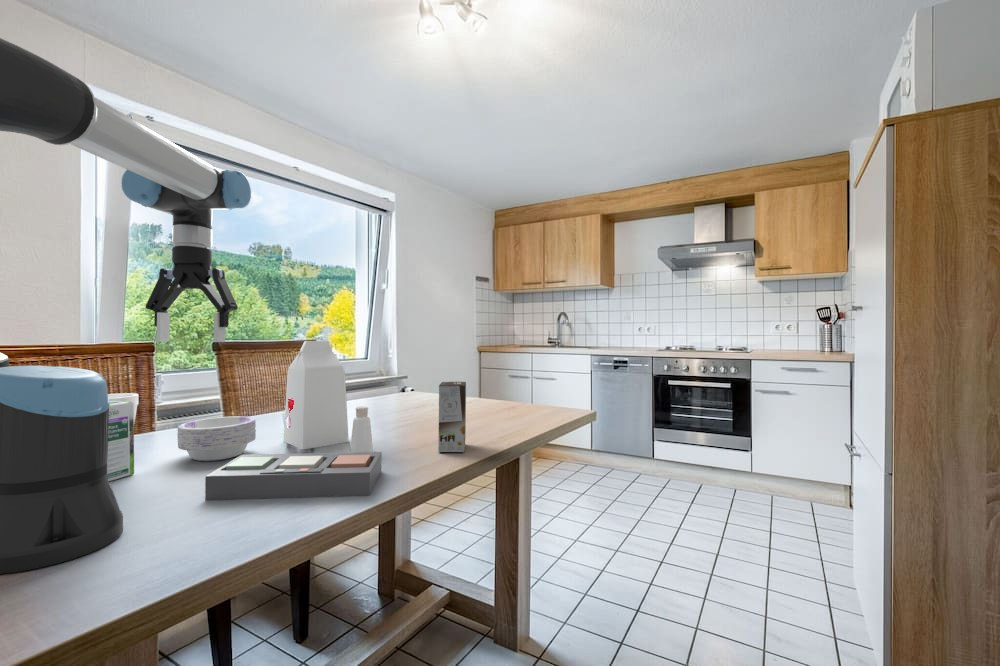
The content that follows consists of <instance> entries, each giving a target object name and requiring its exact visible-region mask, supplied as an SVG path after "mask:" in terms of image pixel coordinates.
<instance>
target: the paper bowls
mask: <svg viewBox="0 0 1000 666" xmlns="http://www.w3.org/2000/svg"><path fill="white" fill-rule="evenodd" d="M256 426H257V425H256V419H255V418H254V417H251V416H235V415H234V416H219V417H217V416H216V417H210V418H202V419H195V420H192V421H187V422H184V423H182V424H179V425H178V426H177V434H176V435H177V448H178V449H179V450H183V451H186V452H187V454H188V455H189V457H190V458H191V459H192V460H195V461H198V462H200V461H201V462H214V461H215V462H216V461H222V460H228V459H232V458H233V459H234V458H235V457H236V458H237V457H239V456H241V455H243V454H244V452H245V450H246V449H247V446H248V444H249V443H251V442H254V441H256V434H257V433H256V432H257V429H256Z"/></svg>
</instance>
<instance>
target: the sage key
mask: <svg viewBox="0 0 1000 666" xmlns="http://www.w3.org/2000/svg"><path fill="white" fill-rule="evenodd" d="M272 463H274V457H241V458H239V459H237V460H236V461H234V462H232V463H231V464H229V465H227V466H226V470H263V469H266V468H267V467H268V466H270V465H271V464H272Z"/></svg>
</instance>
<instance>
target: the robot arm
mask: <svg viewBox="0 0 1000 666" xmlns="http://www.w3.org/2000/svg"><path fill="white" fill-rule="evenodd" d="M0 132H6V133H7V132H8V133H16V134H22V135H27V136H30V137H34V138H36V139H39V140H42V141H44V142H46V143H48V144H51V145H55V146H67V145H71V146H74V147H76V148H78V149H79V150H82V151H84V152H87V153H89V154H91V155H94V156H96V157H98V158H101V159H102V160H104V161H107V162H110V163H112V164H114V165H116V166H118V167H120V168H122V169H124V170H125V171H124V172H123V175H122V176H121V190H122V192H123V195H124V196H126V197H127V198H128V199H129V200H130V201H132V202H134V203H137V204H139V205H141V206H142V207H146V208H151V209H154V210H156V211H160V212H162V213H166V214H168V215H172V235H171V237H172V238H171V239H172V240H171V243H172V244H173V245H174V246H173V247H172V249H171V251H172V252H171V256H172V257H171V260H172V261H171V262H172V263H173V265H174V267H173V269H168V268H163V267H162V268H160V269H159V272H158V279H157V281H156V283H155V286H154V287H153V290H152V292H151V293H150V296H149V298H148V300H147V302H146V303H145V309H146V310H150V311H152V312H154V313H153V314H154V327H156V342H159V343H160V342H162V343H163V342H170V331H171V330H170V327H171V326H170V325H171V312H169V311H168V310H169V308H171V306H172V305H173V303H174V302H175V301H176V300H177V299H178V297H179V296H180V295H181V294H182V293H183V292H185V291H186V290H193V289H195V290H196V289H197V290H200V291H202V292H203V294H204V295H205V296H206V297H207V299H208V300H209V301H210V303H211V304H212V305H213V307H214V308H215V309H216V312H214V313H213V316H214V318H213V342H214V343H226V330H227V328H228V327H229V324H230V322H229V318H230V313H231V312H234V311H237V310H238V309H239V306H238V304H237V302H236V300H235V298H234V296H233V294H232V293H233V292H232V291H231V289H230V287H229V284H228V282H227V280H226V275H225V274H226V273H225V270H224V269H222V268H216V267H213V268H212V269H211V266H212V264H213V251H212V250H211V248H212V247H213V211H214V210H228V211H231V210H236V209H237V210H239V209H244V208H246V207H248V206H249V205H250V203H251V200H252V186H251V183H250V181H249V179H248V177H247V176H246V175H245V174H244V173H243V172H241V171H240V170H234V169H229V168H228V169H219V168H217V167H215V166H213V165H212V164H210V163H208V162H206V161H205V160H202V158H199V157H197V156H196V155H194V154H193V153H191V152H189V151H187V150H186V149H184V148H182V147H180V145H177V144H175V143H174V142H172V141H170V140H169V139H167V138H165V137H163V136H162V135H160V134H158V133H156V132H155V131H153V130H152V129H150V128H148V127H146V126H145V125H143V124H141V123H140V122H138V121H136V120H135V119H133V118H131V117H130V116H128V115H126V114H124V113H123V112H121V111H119V110H117V109H116V108H115V107H112V106H111V105H109V104H107V103H105V102H104V101H102V100H101V99H98V98H97V97H95V94H94V93H93V91H92V89H91V88H90V86H88V84H87V83H85V82H84V81H83V80H81V79H79V78H78V77H76V76H75V75H73V74H71V73H69V72H68V71H66V70H65V69H63V68H61V67H59V66H57V65H56V64H54V63H52V62H50V61H49V60H47V59H45V58H43V57H41V56H39V55H38V54H36V53H34V52H31V51H29V50H27V49H25V48H23V47H21V46H19V45H17V44H15V43H13V42H10V41H8V40H6V39H4V38H2V37H0ZM210 279H212V280H213V282H214V285H215V288H216V289H217V290H216V289H215V288H214V285H213V284H212V282H211V280H210ZM217 291H218V292H217ZM108 394H109V393H108V384H107V380H106V378H105V377H104V376H103V375H102V374H100V373H99V372H96V371H93V370H91V369H85V368H78V367H70V366H69V367H68V366H49V365H13V366H11V365H10V362H9V357H8V355H6V354H4V353H2V352H1V351H0V574H9V573H17V572H24V571H29V570H34V569H40V568H43V567H48V566H53V565H57V564H61V563H63V562H67V561H71V560H74V559H77V558H79V557H82V556H84V555H88V554H90V553H92V552H96V551H97V550H99V549H102V548H104V547H106V546H108V545H109V544H111V543H112V542H115V541H116V540H117V539H119V537H120V536H121V535H122V534H123V533H124V515H123V512H122V510H121V508H120V506H119V503H118V500H117V498H116V496H115V494H114V490H113V488H112V485H111V484H110V481H108V478H107V459H108V424H109V405H110V404H109V398H108Z"/></svg>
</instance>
